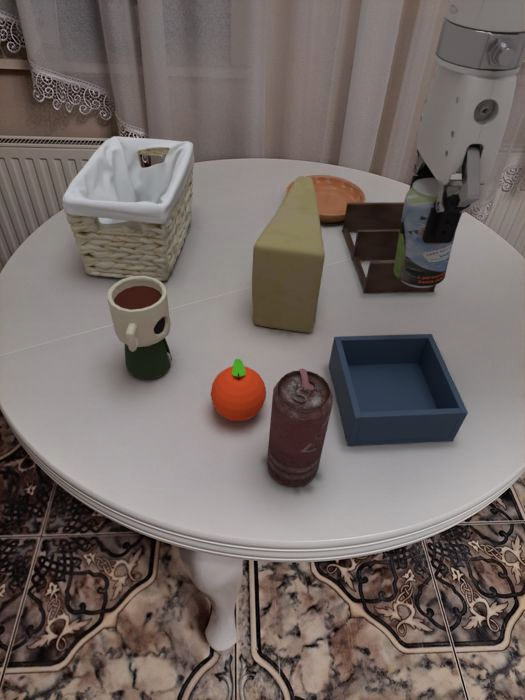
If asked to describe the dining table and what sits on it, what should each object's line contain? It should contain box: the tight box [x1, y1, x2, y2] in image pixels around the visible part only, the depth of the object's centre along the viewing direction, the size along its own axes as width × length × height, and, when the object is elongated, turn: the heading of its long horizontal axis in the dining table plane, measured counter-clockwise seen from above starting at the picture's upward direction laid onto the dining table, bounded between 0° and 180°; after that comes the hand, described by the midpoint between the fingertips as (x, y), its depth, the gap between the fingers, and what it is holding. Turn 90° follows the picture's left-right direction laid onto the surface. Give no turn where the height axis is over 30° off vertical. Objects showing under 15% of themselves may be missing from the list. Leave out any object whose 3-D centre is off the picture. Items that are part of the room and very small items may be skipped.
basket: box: [61, 135, 195, 282], centre depth 87 cm, size 24×16×15 cm
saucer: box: [285, 174, 366, 224], centre depth 103 cm, size 16×16×3 cm
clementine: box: [210, 358, 267, 422], centre depth 64 cm, size 8×7×7 cm
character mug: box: [107, 276, 173, 379], centre depth 66 cm, size 11×7×13 cm, turn 177°
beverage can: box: [394, 178, 460, 288], centre depth 58 cm, size 6×7×12 cm
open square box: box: [328, 333, 469, 447], centre depth 66 cm, size 14×14×6 cm
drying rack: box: [341, 201, 437, 294], centre depth 89 cm, size 12×19×6 cm, turn 5°
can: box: [266, 368, 334, 487], centre depth 56 cm, size 6×6×14 cm
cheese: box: [251, 175, 326, 333], centre depth 80 cm, size 22×10×15 cm, turn 170°
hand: (427, 223), depth 58 cm, fingers closed on beverage can, 6 cm apart
